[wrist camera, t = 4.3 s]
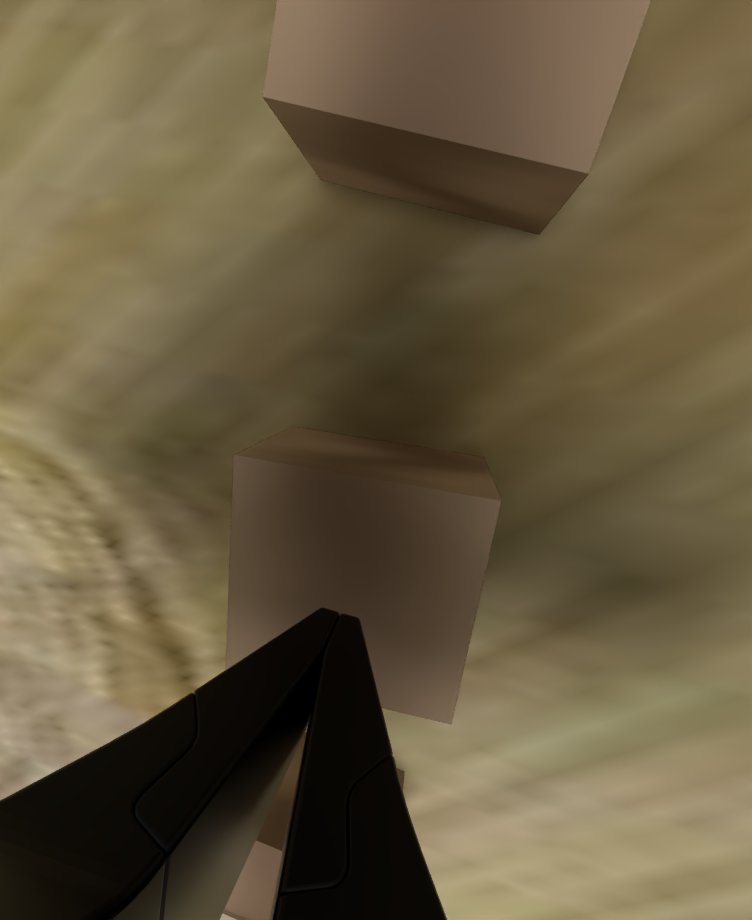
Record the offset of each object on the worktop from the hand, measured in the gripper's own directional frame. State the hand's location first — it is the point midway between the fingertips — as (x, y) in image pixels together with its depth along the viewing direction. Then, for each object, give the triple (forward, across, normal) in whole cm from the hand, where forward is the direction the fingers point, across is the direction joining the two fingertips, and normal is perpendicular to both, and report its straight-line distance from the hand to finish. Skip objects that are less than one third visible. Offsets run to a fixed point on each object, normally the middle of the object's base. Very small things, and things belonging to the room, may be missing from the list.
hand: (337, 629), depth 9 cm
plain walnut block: (+5, 0, 0) cm, 5 cm away
